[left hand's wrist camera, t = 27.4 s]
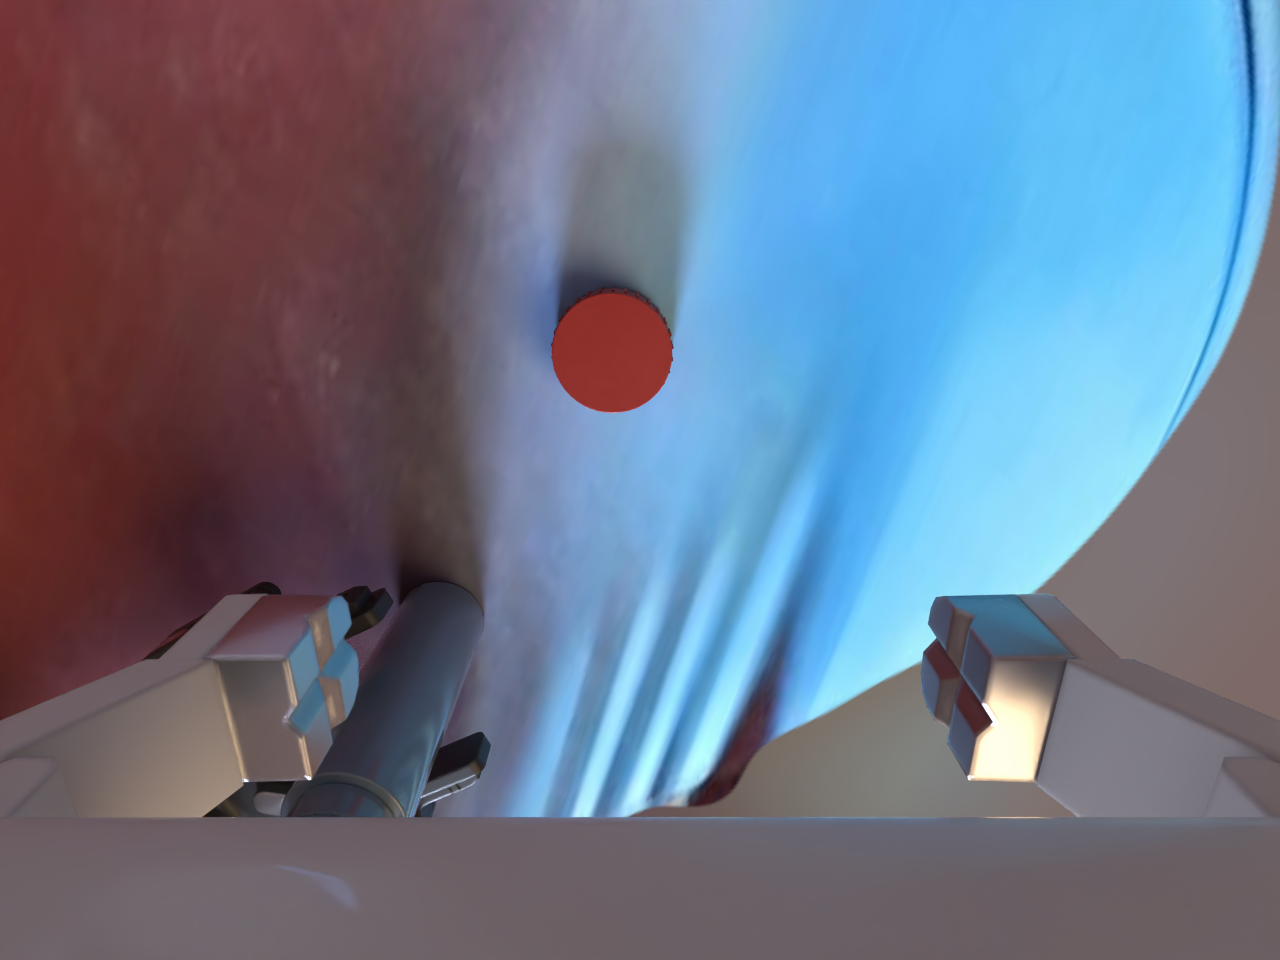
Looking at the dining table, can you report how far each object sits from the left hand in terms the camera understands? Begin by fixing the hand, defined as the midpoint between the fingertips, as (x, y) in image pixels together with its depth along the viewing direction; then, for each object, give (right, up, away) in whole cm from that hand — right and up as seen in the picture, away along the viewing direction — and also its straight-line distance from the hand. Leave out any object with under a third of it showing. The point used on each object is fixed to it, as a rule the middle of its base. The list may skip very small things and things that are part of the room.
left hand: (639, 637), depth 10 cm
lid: (-1, +8, +22) cm, 23 cm away
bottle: (-10, -5, +29) cm, 31 cm away
